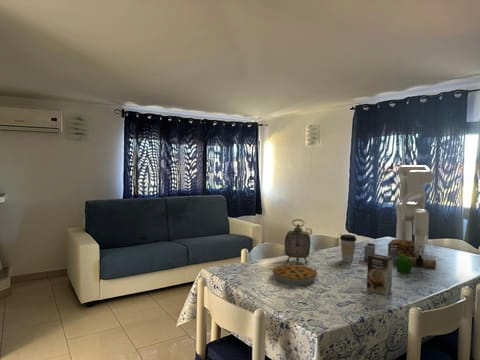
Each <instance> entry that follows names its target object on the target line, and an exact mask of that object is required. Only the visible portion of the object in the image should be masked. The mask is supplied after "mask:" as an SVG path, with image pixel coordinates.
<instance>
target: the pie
mask: <svg viewBox="0 0 480 360" xmlns="http://www.w3.org/2000/svg"><path fill="white" fill-rule="evenodd" d="M272 274H273V275H274V277H275V279H276V280H277V281H278V282H280V283H282V284H285V285H289V286H304V285H305V286H306V285H310V284H312V283H314V282H315V280H316V278H317V277H318V273H317V272H316V269H313V268H311V267H308V266H306V265H301V264H292V263H289V264H287V265H286V264H281V265H277V266H276V267H273V270H272Z"/></svg>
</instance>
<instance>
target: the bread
mask: <svg viewBox="0 0 480 360" xmlns="http://www.w3.org/2000/svg"><path fill="white" fill-rule="evenodd" d="M414 242H415V240H411V241H407V240H398V239H396V238H395V239H392V240H390V242H388V244H387V253H388V254H389V255H390V253H391V246H397V250H396V257H399V256H400V255H399V254H403V255H404V256H405V257H412V258H416V256H417V252H416V253H415V252H414ZM400 257H403V256H400Z"/></svg>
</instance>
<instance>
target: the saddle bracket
mask: <svg viewBox="0 0 480 360" xmlns="http://www.w3.org/2000/svg"><path fill="white" fill-rule="evenodd" d="M396 250H397V246H391V253H390V254H389V255H390V256H389V257H393V266H394V265H395V266H396V258H397V256H396Z"/></svg>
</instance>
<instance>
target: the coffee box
mask: <svg viewBox="0 0 480 360" xmlns="http://www.w3.org/2000/svg"><path fill="white" fill-rule="evenodd" d="M393 266H394V265H393V257H390V256H388V255H383V254H378V253H375V254H371V255H368V261H367V272H366V273H367V275H366V276H367V277H366V278H367V279H366V291H370V292H372V293H375V294H379V293H380V295H382V294H383V296H388V295H390V294H391V293H392V285H393V283H392V282H393V281H392V280H393ZM387 294H388V295H387Z"/></svg>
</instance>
